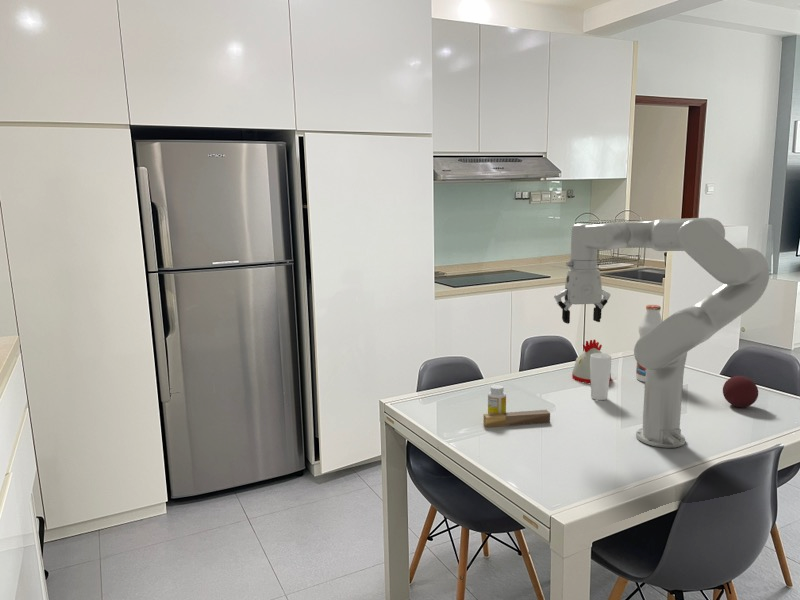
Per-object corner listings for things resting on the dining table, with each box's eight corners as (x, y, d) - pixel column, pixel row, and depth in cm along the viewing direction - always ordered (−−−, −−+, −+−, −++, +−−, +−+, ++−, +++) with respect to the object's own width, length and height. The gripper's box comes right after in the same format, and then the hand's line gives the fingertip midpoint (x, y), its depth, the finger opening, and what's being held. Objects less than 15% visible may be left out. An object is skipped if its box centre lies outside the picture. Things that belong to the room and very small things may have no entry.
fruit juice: (664, 378, 224) (668, 304, 219) (662, 384, 216) (666, 308, 211) (637, 375, 228) (641, 302, 224) (634, 381, 220) (638, 307, 215)
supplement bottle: (503, 414, 188) (503, 383, 186) (507, 421, 183) (508, 389, 181) (486, 415, 188) (486, 384, 186) (489, 421, 182) (490, 389, 181)
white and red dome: (564, 375, 229) (565, 337, 226) (594, 371, 234) (595, 334, 231) (588, 385, 216) (589, 345, 214) (618, 381, 221) (620, 342, 218)
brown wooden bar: (550, 422, 181) (550, 413, 180) (486, 427, 178) (486, 417, 178) (546, 419, 184) (546, 409, 183) (483, 423, 181) (483, 414, 181)
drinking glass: (607, 395, 205) (608, 353, 203) (611, 401, 199) (613, 358, 196) (586, 394, 206) (588, 352, 203) (591, 401, 199) (592, 357, 197)
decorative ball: (749, 414, 185) (752, 383, 184) (716, 406, 193) (718, 376, 191) (762, 406, 192) (764, 376, 190) (729, 399, 199) (731, 370, 198)
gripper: (561, 267, 172) (559, 325, 175) (617, 265, 174) (614, 323, 177) (550, 265, 179) (549, 320, 182) (604, 263, 182) (602, 318, 184)
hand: (581, 322), depth 179 cm, fingers open, 9 cm apart
